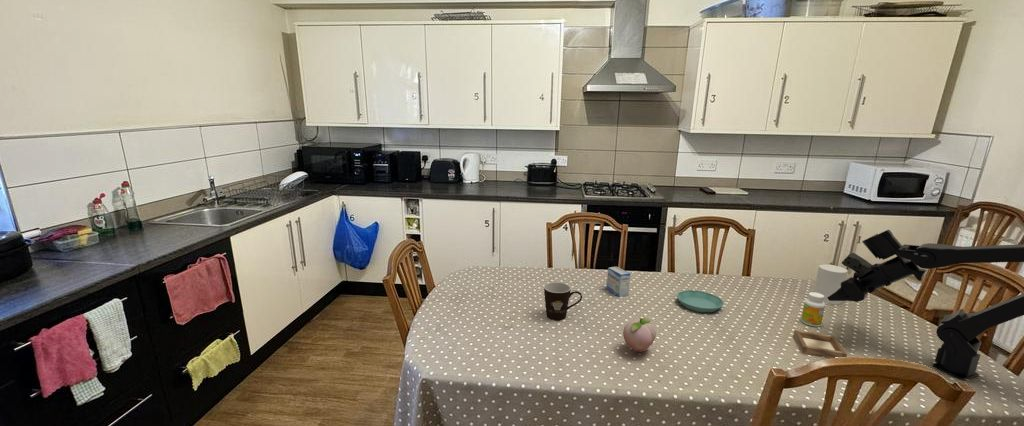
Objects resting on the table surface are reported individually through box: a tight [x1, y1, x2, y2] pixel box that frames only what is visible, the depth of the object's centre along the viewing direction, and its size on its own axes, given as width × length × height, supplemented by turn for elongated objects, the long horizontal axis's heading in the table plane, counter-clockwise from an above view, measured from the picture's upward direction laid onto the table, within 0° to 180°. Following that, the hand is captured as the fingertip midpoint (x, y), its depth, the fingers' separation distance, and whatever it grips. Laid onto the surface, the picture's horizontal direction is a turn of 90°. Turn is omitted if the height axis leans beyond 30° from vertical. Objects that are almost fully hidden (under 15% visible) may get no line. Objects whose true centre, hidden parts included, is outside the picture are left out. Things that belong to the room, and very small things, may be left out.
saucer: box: [676, 289, 725, 313], centre depth 146 cm, size 15×15×3 cm
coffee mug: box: [543, 281, 583, 322], centre depth 135 cm, size 12×9×10 cm
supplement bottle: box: [800, 291, 826, 328], centre depth 134 cm, size 5×5×10 cm
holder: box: [792, 329, 848, 359], centre depth 120 cm, size 10×10×2 cm
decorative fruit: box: [622, 317, 657, 353], centre depth 116 cm, size 9×8×10 cm
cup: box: [813, 263, 848, 306], centre depth 151 cm, size 8×8×12 cm
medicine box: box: [605, 266, 631, 298], centre depth 155 cm, size 8×4×9 cm, turn 25°
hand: (833, 295), depth 129 cm, fingers open, 9 cm apart
